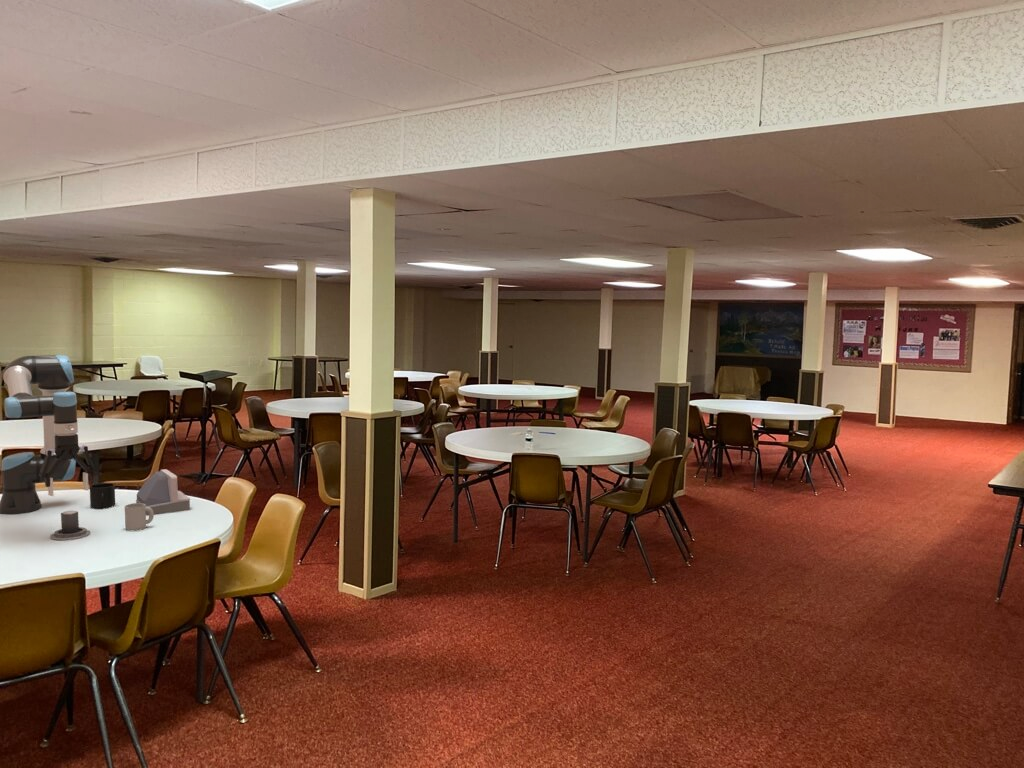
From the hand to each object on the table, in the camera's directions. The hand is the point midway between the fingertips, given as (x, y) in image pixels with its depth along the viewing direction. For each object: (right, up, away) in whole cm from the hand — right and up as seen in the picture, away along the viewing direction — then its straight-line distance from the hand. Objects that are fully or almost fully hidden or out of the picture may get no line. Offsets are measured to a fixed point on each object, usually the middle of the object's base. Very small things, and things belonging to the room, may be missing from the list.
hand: (68, 492), depth 296 cm
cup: (+20, -15, +13) cm, 29 cm away
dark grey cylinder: (0, -16, +2) cm, 16 cm away
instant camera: (+16, -13, +43) cm, 48 cm away
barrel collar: (0, -16, +2) cm, 16 cm away
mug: (-10, -12, +44) cm, 47 cm away
